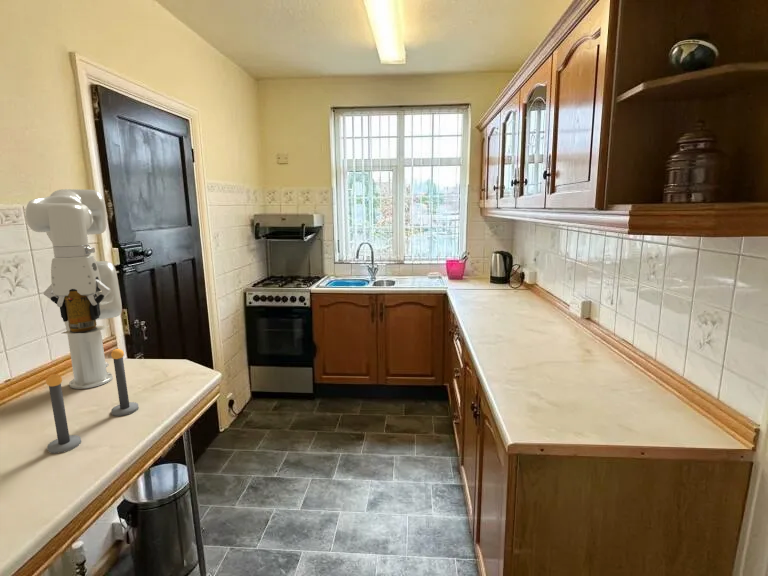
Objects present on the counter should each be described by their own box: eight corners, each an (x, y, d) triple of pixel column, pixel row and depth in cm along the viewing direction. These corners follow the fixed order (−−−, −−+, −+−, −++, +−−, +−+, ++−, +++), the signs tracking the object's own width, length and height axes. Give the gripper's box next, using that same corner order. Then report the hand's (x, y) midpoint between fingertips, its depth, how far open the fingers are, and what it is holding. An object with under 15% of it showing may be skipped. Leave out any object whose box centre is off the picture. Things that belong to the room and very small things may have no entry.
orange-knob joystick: (56, 440, 114) (45, 370, 110) (86, 437, 115) (75, 368, 111) (41, 454, 107) (28, 381, 103) (73, 451, 108) (61, 378, 104)
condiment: (80, 326, 119) (74, 283, 116) (110, 326, 119) (105, 283, 116) (60, 334, 112) (53, 289, 109) (92, 334, 111) (86, 289, 109)
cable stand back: (117, 406, 132) (108, 346, 129) (141, 404, 134) (134, 344, 130) (107, 417, 126) (98, 353, 122) (133, 414, 127) (125, 352, 123)
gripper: (114, 250, 116) (122, 314, 120) (42, 251, 113) (53, 317, 116) (102, 253, 109) (111, 321, 113) (25, 255, 106) (37, 325, 109)
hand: (81, 318), depth 114 cm, fingers closed on condiment, 6 cm apart
